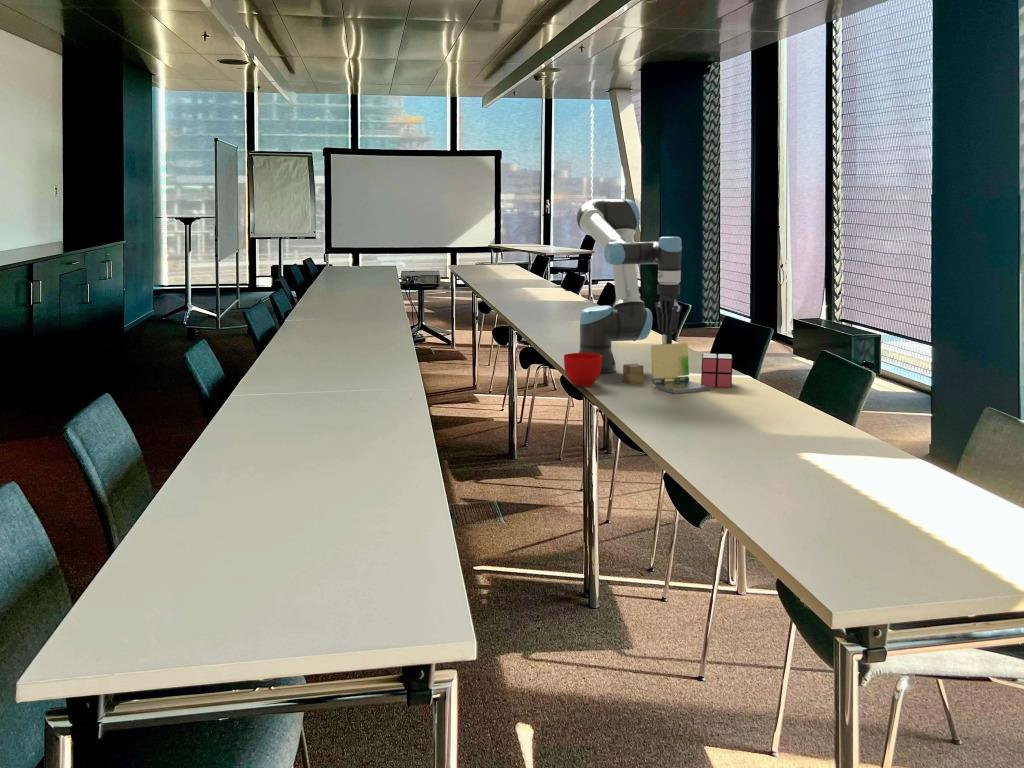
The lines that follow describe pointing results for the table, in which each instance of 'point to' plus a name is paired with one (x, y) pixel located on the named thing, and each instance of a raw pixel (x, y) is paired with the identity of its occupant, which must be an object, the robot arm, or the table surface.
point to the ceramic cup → (582, 368)
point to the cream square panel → (669, 361)
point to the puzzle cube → (717, 370)
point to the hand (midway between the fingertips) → (666, 353)
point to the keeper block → (633, 373)
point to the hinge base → (680, 386)
